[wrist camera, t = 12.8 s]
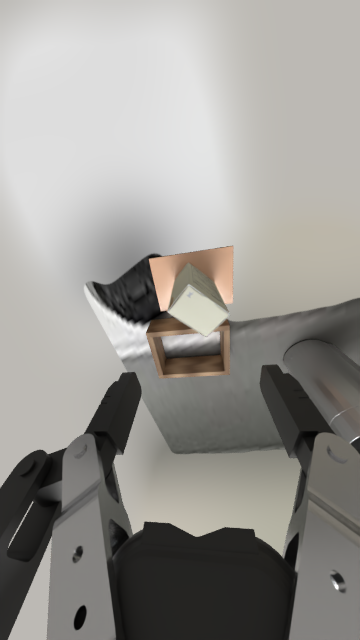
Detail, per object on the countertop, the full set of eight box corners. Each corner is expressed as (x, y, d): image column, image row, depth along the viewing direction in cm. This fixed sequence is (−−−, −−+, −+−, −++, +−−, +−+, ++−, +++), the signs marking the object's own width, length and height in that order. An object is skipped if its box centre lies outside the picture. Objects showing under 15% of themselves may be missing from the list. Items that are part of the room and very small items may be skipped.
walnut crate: (224, 312, 32) (229, 325, 28) (225, 357, 38) (229, 374, 34) (151, 319, 34) (145, 333, 30) (163, 362, 40) (159, 378, 35)
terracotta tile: (232, 245, 26) (233, 246, 26) (232, 302, 31) (232, 303, 31) (149, 258, 28) (148, 258, 28) (161, 310, 33) (160, 311, 32)
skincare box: (173, 281, 29) (163, 311, 19) (188, 260, 27) (186, 281, 17) (201, 301, 31) (206, 339, 20) (216, 283, 29) (231, 315, 18)
